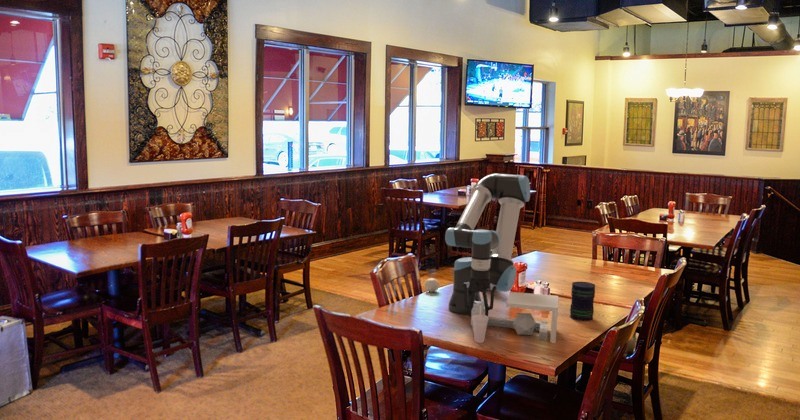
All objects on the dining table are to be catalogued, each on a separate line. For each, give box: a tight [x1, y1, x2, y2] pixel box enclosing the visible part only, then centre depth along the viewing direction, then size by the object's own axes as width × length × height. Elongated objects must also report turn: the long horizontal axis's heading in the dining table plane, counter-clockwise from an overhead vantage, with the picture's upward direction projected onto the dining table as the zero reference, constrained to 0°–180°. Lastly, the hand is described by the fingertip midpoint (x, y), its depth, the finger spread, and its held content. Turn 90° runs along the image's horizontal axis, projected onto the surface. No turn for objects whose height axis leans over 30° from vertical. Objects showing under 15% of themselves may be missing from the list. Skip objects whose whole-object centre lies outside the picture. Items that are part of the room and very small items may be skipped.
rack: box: [505, 291, 559, 344], centre depth 273 cm, size 20×18×14 cm
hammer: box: [471, 300, 549, 341], centre depth 275 cm, size 30×14×11 cm, turn 77°
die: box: [513, 312, 536, 336], centre depth 273 cm, size 8×9×10 cm
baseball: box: [423, 277, 440, 293], centre depth 332 cm, size 7×7×7 cm
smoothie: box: [472, 305, 490, 344], centre depth 261 cm, size 6×6×14 cm
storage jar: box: [569, 281, 596, 322], centre depth 296 cm, size 10×10×15 cm
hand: (478, 325), depth 277 cm, fingers closed on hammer, 4 cm apart
